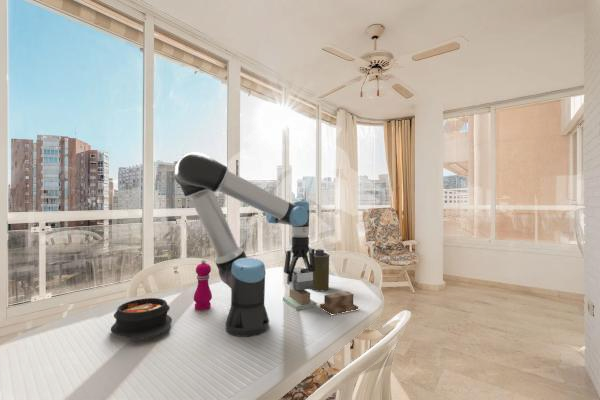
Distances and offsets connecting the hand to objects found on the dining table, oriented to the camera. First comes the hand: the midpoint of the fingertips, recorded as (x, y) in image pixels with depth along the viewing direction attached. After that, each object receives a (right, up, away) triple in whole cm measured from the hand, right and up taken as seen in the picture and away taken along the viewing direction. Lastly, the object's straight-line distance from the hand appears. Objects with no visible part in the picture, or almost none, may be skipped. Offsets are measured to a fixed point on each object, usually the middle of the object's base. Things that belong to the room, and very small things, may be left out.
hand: (299, 288), depth 130 cm
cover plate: (0, +4, 0) cm, 4 cm away
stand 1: (0, -7, 0) cm, 7 cm away
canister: (+10, -7, +23) cm, 27 cm away
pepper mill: (-40, -6, -7) cm, 41 cm away
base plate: (0, +1, 0) cm, 1 cm away
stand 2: (+16, -7, -6) cm, 19 cm away
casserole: (-54, -6, -28) cm, 61 cm away
